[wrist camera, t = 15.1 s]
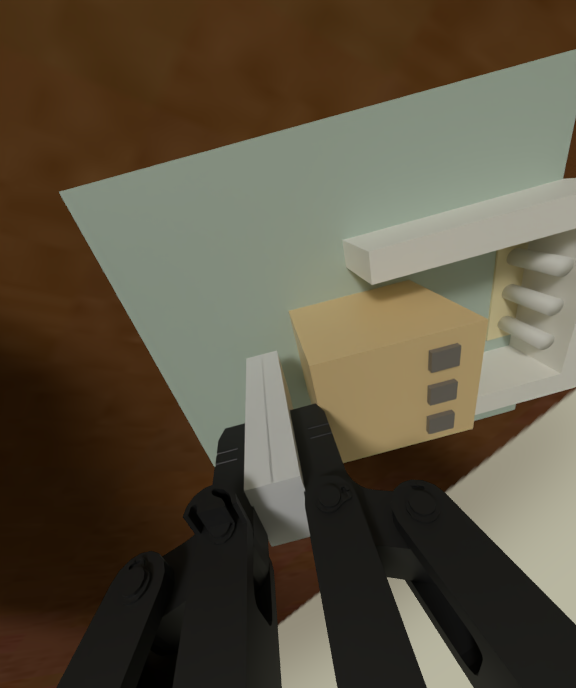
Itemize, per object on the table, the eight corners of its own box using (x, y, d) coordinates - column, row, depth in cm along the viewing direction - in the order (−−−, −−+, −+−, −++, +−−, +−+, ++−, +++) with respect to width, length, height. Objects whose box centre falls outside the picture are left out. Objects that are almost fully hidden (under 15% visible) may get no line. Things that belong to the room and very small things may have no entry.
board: (228, 470, 20) (224, 537, 16) (80, 192, 11) (-8, 189, 7) (496, 395, 20) (558, 444, 16) (550, 62, 11) (711, -9, 7)
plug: (307, 391, 16) (332, 470, 11) (288, 310, 13) (310, 369, 9) (409, 364, 16) (476, 432, 11) (409, 279, 13) (493, 321, 9)
